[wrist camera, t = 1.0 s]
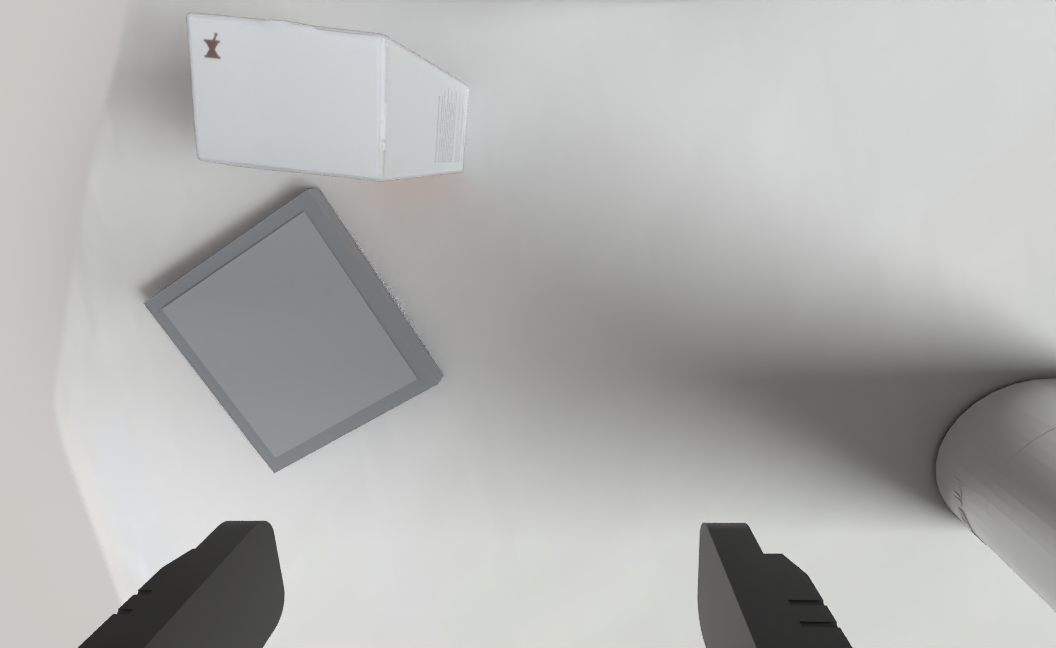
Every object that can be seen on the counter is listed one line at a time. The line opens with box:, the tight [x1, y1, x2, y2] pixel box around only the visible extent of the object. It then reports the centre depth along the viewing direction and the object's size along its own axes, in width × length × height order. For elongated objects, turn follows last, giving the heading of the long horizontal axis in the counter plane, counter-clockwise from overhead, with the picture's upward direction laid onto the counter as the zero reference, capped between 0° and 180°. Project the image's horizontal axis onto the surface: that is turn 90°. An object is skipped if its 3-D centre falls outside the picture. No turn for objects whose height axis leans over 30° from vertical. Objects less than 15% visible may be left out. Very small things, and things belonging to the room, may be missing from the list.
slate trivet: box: [144, 188, 443, 473], centre depth 31 cm, size 12×12×1 cm
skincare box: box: [186, 13, 469, 182], centre depth 22 cm, size 6×4×12 cm
